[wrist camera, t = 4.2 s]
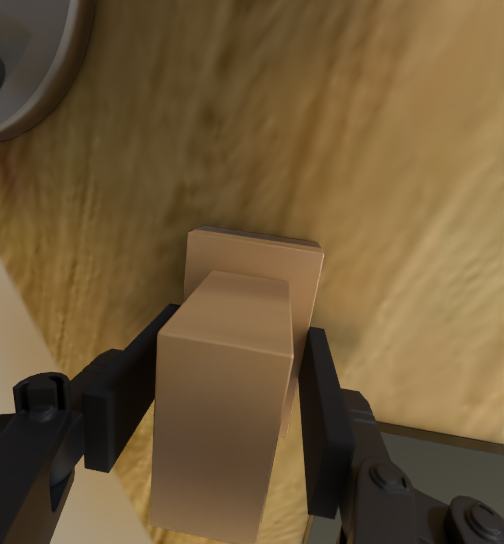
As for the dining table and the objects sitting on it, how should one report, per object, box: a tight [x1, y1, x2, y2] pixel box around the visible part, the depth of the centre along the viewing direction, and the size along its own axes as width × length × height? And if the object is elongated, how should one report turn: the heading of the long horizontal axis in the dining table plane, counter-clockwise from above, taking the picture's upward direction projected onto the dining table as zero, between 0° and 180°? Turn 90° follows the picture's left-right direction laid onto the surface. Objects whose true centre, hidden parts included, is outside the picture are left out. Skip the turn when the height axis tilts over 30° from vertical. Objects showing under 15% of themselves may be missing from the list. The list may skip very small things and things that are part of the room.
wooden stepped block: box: [150, 226, 324, 544], centre depth 12 cm, size 10×6×8 cm, turn 172°
